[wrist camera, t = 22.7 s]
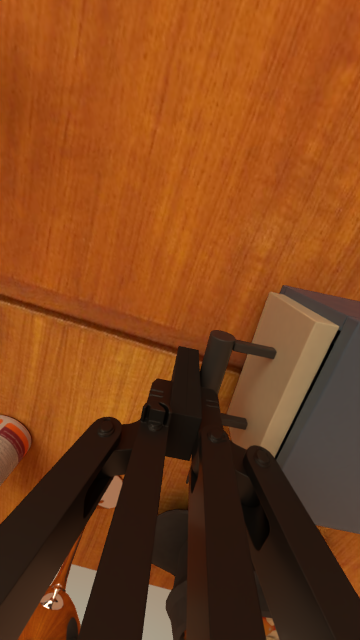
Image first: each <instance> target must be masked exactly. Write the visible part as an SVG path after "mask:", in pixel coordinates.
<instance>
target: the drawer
mask: <svg viewBox="0 0 360 640" xmlns="http://www.w3.org/2000/svg"><path fill="white" fill-rule="evenodd" d="M338 329H339V326H338V325H336V324H334V323H333V322H331V321H329V320H327V319H326V318H324V317H322V316H320V315H319V314H317V313H315V312H313V311H312V310H310V309H308V308H306V307H305V306H303V305H301V304H299V303H298V302H296V301H294V300H292V299H291V298H289V297H287V296H285V295H283V294H278V293H274V292H269V295H268V298H267V301H266V303H265V306H264V309H263V312H262V315H261V318H260V320H259V323H258V326H257V329H256V332H255V335H254V337H253V340H252V343H249V342H245V341H240V340H235V337H234V336H233V335H231V334H229V333H227V332H224V331H219V330H214V331H211V333H210V336H209V340H208V344H207V347H206V351H205V355H204V358H203V362H202V366H201V369H200V386H201V387H204V388H209V389H214V391H215V392H216V394H217V395H218V393H219V389H220V386H221V383H222V380H223V377H224V374H225V371H226V368H227V365H228V361H229V358H230V355H231V352H232V349H233V351H236V352H241V353H246V354H248V355H247V357H246V360H245V363H244V366H243V369H242V372H241V374H240V377H239V380H238V383H237V386H236V389H235V391H234V394H233V397H232V400H231V403H230V406H229V408H228V411H227V414H223V413H221V419H222V425H224V426H229V430H230V436H231V441H232V442H233V443H235V444H236V445H238V446H240V447H242V448H244V449H246V450H247V449H248V448H249V447H250V446H253V445H257V446H261V447H263V448H265V449H266V450H268V451H269V452H270V453H271V454H272V455H273V456H274V458H275V459H276V460H277V458H278V456H279V454H280V452H281V450H282V448H283V446H284V444H285V442H286V440H287V438H288V436H289V434H290V432H291V430H292V428H293V426H294V424H295V422H296V420H297V418H298V416H299V414H300V412H301V410H302V408H303V406H304V404H305V402H306V400H307V398H308V396H309V394H310V392H311V390H312V388H313V386H314V384H315V382H316V380H317V378H318V376H319V374H320V372H321V370H322V368H323V366H324V364H325V362H326V360H327V358H328V356H329V354H330V352H331V350H332V348H333V346H334V344H335V342H336V340H337V338H338V336H339V334H340V332H341V331H340V330H338Z"/></svg>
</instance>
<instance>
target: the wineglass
mask: <svg viewBox="0 0 360 640" xmlns="http://www.w3.org/2000/svg"><path fill="white" fill-rule="evenodd" d="M122 483H123V480H122V479H121V478H120V477H119V476H118V475H117V476H114V478H113V480H112V482H111V483H110V485H109V487H108V488H107V490H106V492H105V493H104V495H103V497H102V499H101V500H100V502H99V504H98V505H97V507H96V508H97V509H109V508H114V507H116V504H117V500H118V497H119V494H120V490H121V487H122ZM85 527H86V525H85ZM85 527H84V529H85ZM84 529H83V530H82V532H81V534H80V536H79V537H78V539H77V541H76V542H75V544H74V546H73V547H72V549H71V551H70V552H69V554H68V556H67V557H66V559H65V561H64V563H63V565H62V567H61V569H60V571H59V573H58V575H57V576H56V578H55V580H54V581H53V583H52V584H51V586H49V588H48V589H47V591H46V593H45V594H44V596H43V598H42V599H41V601H40V603H39V604H38V606H37V608H36V609H35V611H34V613H33V615H32V616H31V618H30V620H29V621H28V623H27V625H26V626H25V628H24V630H23V631H22V633H21V635H20V636H19V638H18V640H77V639H78V635H79V632H80V628H81V624H80V621H79V618H78V615H77V611H76V608H75V606H74V604H73V602H72V600H71V598H70V597H69V595H68V594H67V593H66V591H65V588H66V582H67V578H68V574H69V571H70V567H71V564H72V561H73V559H74V556H75V553H76V550H77V547H78V545H79V542H80V540H81V537H82V534H83V532H84Z"/></svg>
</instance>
